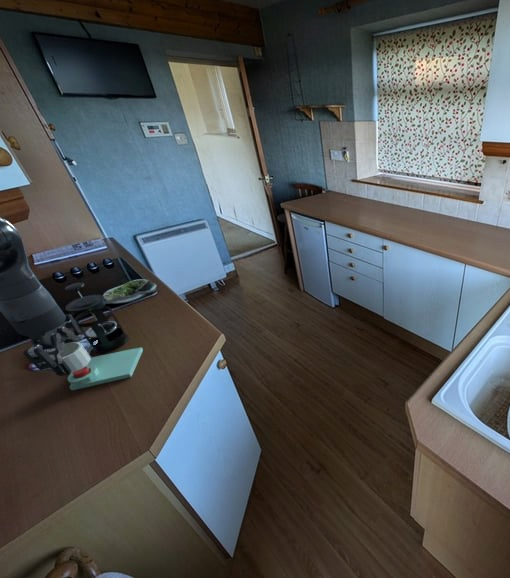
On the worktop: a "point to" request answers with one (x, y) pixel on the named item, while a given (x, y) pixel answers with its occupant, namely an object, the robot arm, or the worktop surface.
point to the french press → (97, 321)
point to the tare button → (81, 372)
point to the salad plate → (130, 291)
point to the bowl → (74, 356)
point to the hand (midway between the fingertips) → (73, 363)
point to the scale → (108, 368)
